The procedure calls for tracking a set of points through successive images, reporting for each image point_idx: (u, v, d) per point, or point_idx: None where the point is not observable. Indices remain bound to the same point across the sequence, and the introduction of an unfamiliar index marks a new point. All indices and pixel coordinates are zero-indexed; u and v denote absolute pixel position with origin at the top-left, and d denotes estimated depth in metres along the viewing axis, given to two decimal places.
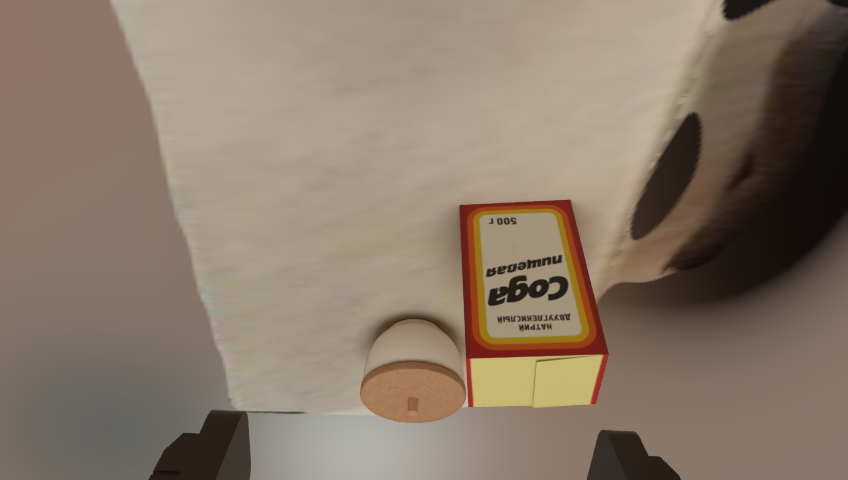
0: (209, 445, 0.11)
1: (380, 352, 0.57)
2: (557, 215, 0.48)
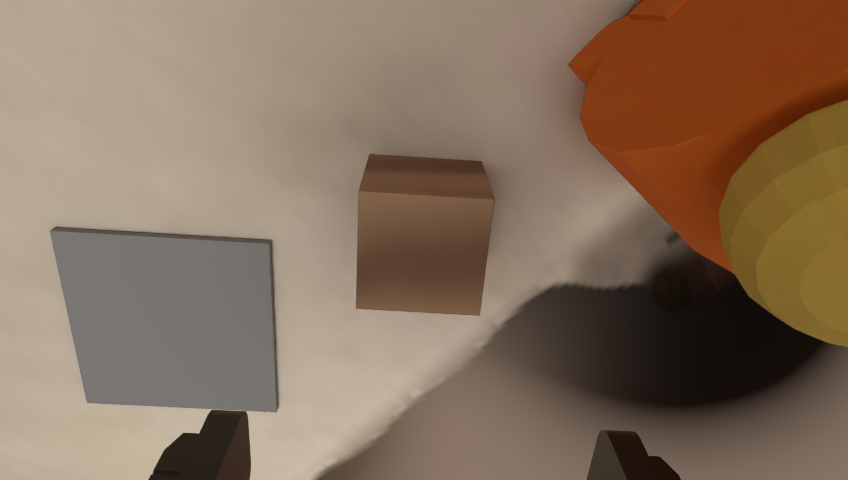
0: (209, 445, 0.11)
1: None
2: None
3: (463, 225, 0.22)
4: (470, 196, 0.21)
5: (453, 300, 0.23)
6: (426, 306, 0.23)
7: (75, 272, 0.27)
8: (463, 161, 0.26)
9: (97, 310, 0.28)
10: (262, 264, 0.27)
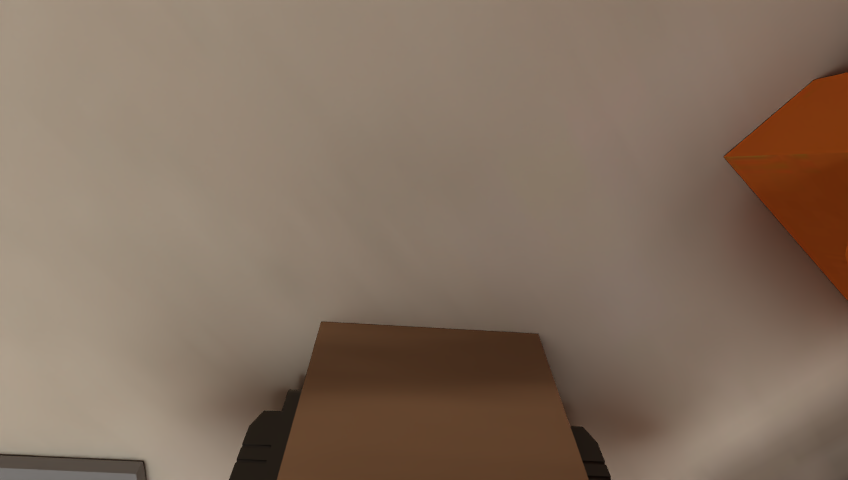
0: None
1: None
2: None
3: None
4: None
5: None
6: None
7: None
8: (505, 338, 0.13)
9: None
10: None
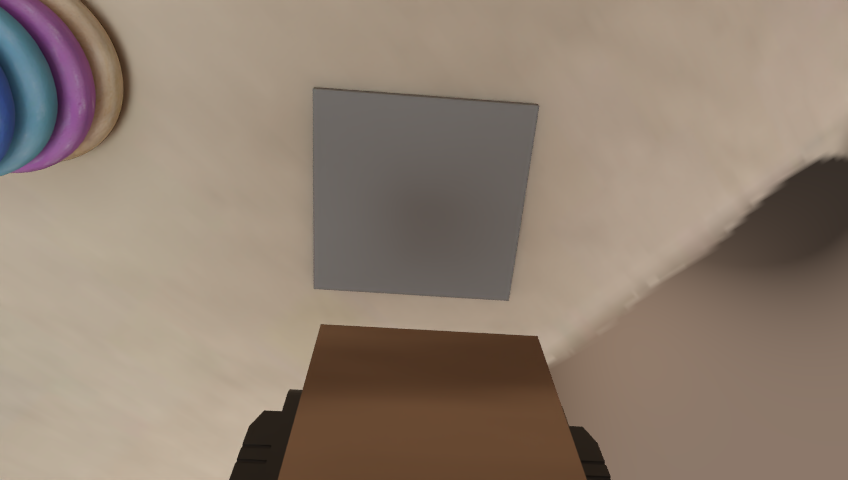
0: (293, 420, 0.12)
1: None
2: None
3: None
4: None
5: None
6: None
7: (330, 137, 0.26)
8: (504, 340, 0.13)
9: (344, 182, 0.27)
10: (527, 129, 0.26)
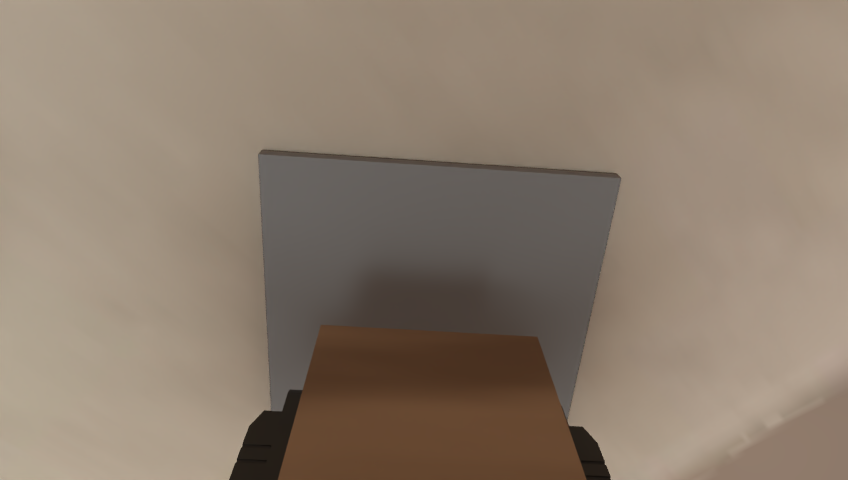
0: (293, 420, 0.12)
1: None
2: None
3: None
4: None
5: None
6: None
7: (289, 226, 0.16)
8: (504, 341, 0.13)
9: (314, 291, 0.17)
10: (600, 214, 0.16)
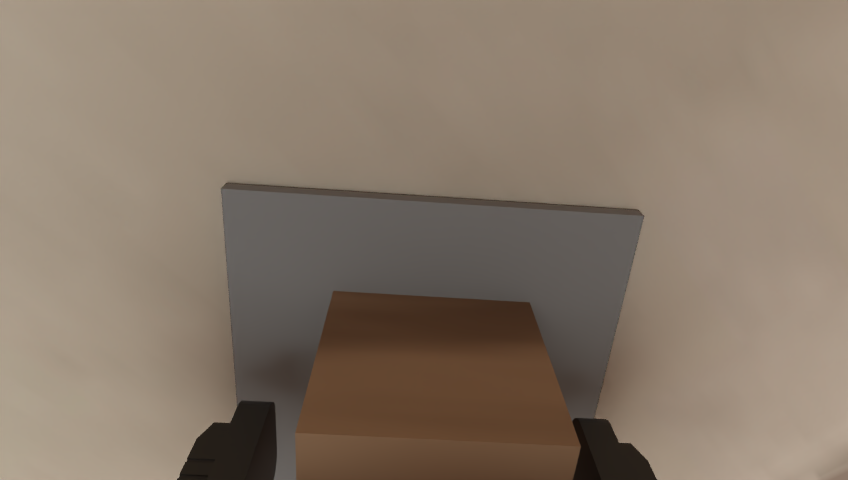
0: (241, 434, 0.12)
1: None
2: None
3: None
4: (529, 435, 0.10)
5: None
6: None
7: (259, 271, 0.14)
8: (499, 305, 0.14)
9: (289, 342, 0.15)
10: (619, 256, 0.14)
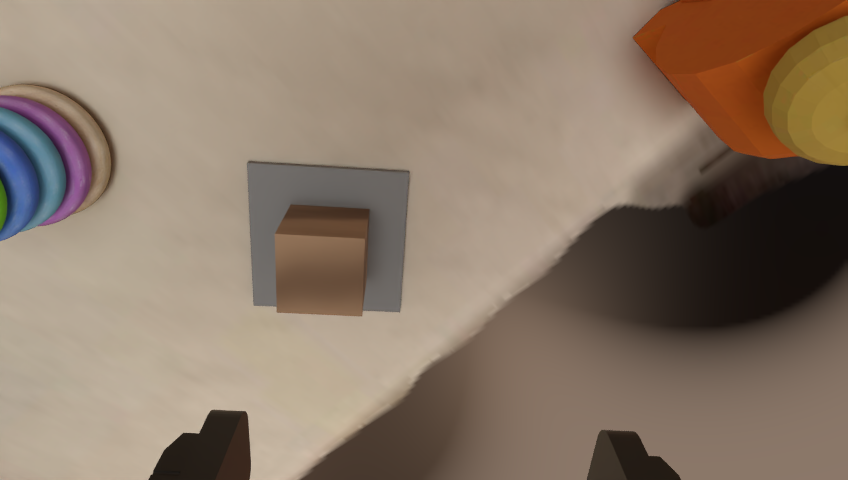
0: (209, 445, 0.11)
1: None
2: None
3: (345, 255, 0.33)
4: (349, 236, 0.32)
5: (343, 306, 0.34)
6: (325, 310, 0.34)
7: (261, 196, 0.36)
8: (356, 209, 0.37)
9: (273, 227, 0.37)
10: (402, 189, 0.36)
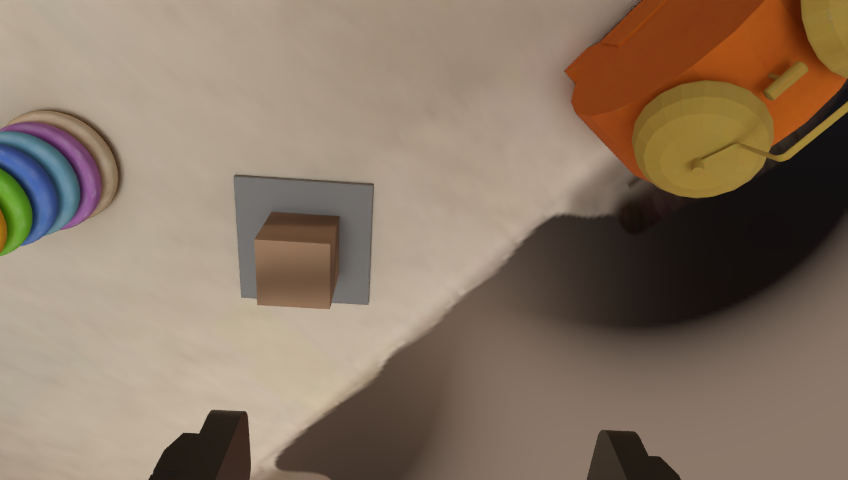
0: (209, 445, 0.11)
1: None
2: None
3: (314, 258, 0.38)
4: (317, 242, 0.38)
5: (313, 300, 0.40)
6: (298, 303, 0.40)
7: (246, 204, 0.42)
8: (328, 216, 0.42)
9: (256, 231, 0.43)
10: (367, 199, 0.42)
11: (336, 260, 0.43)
